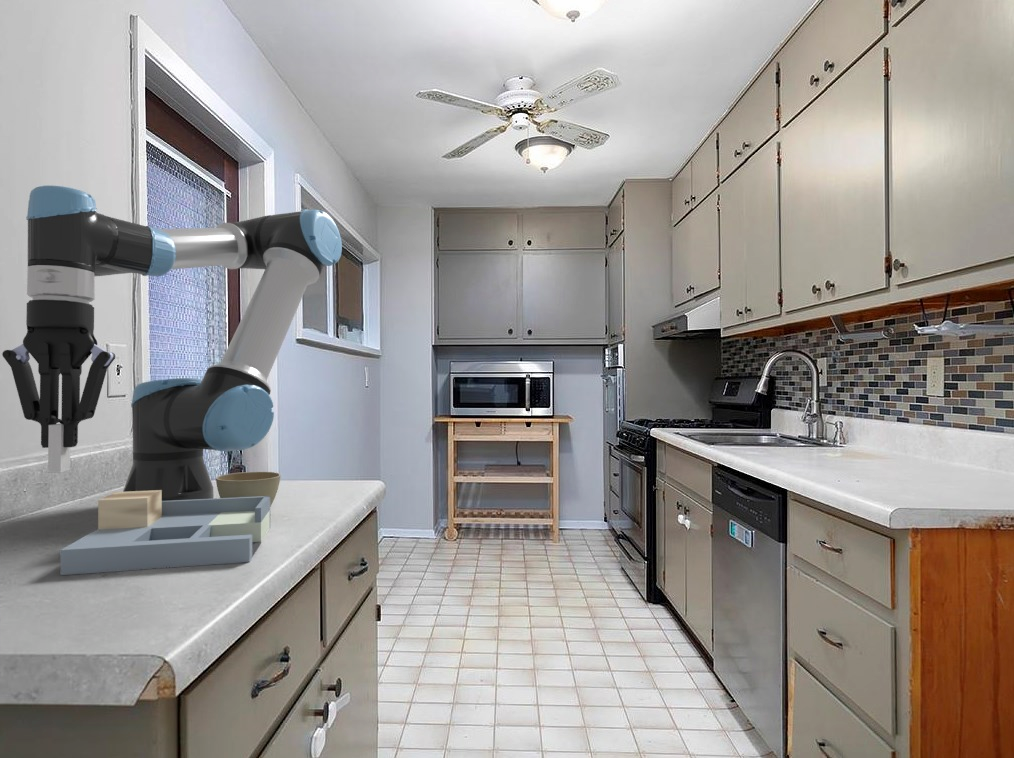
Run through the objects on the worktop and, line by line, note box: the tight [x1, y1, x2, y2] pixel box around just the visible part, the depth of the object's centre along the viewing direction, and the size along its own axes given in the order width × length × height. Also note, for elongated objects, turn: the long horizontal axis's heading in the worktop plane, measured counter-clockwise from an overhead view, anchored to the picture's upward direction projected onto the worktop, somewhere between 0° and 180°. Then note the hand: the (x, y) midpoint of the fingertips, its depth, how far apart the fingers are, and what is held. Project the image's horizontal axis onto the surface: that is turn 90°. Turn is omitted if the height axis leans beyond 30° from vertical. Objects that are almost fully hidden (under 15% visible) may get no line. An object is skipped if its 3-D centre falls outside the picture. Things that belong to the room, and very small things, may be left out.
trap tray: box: [60, 496, 271, 576], centre depth 82 cm, size 18×21×5 cm
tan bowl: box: [215, 471, 282, 508], centre depth 100 cm, size 10×10×7 cm
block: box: [97, 490, 162, 530], centre depth 84 cm, size 6×6×4 cm
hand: (59, 471), depth 82 cm, fingers closed
